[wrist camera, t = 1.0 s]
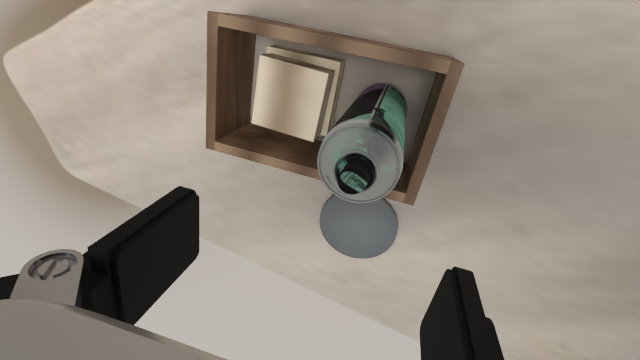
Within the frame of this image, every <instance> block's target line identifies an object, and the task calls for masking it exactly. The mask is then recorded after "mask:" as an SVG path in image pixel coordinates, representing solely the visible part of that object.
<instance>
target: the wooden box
mask: <svg viewBox="0 0 640 360" xmlns="http://www.w3.org/2000/svg"><path fill="white" fill-rule="evenodd" d="M256 34H259V35H264V36H268V37H273V38H278V39H283V40H287V41H292V42H297V43H301V44H306V45H311V46H316V47H320V48H325V49H330V50H334V51H339V52H344V53H349V54H353V55H358V56H363V57H368V58H372V59H377V60H382V61H386V62H391V63H396V64H401V65H405V66H410V67H415V68H420V69H424V70H429V71H434V72H437V73H436V76H435V79H434V82H433V85H432V88H431V91H430V94H429V98H428V101H427V104H426V107H425V110H424V113H423V116H422V119H421V122H420V125H419V128H418V131H417V134H416V137H415V140H414V143H413V146H412V149H411V152H410V156H409V159H408V162H407V163H403V169H402V172H401V176H400V178H399V180H398V182H397V184H396V185H395V187H394V188H393V189H392V190H391V192H390V193H389V194H387V195H386V196H384V198H388V199H391V200H395V201H399V202H402V203H406V204H409V205H414V202H415V199H416V196H417V194H418V191H419V188H420V185H421V183H422V180H423V177H424V174H425V172H426V169H427V166H428V163H429V160H430V158H431V155H432V152H433V149H434V147H435V144H436V141H437V138H438V136H439V133H440V130H441V127H442V125H443V122H444V119H445V116H446V113H447V111H448V108H449V105H450V102H451V100H452V97H453V94H454V91H455V89H456V86H457V83H458V80H459V77H460V75H461V72H462V69H463V66H464V63H462V62H460V61H459V60H457V59H455V58H453V57H450V56H445V55H440V54H435V53H430V52H425V51H420V50H415V49H410V48H405V47H401V46H396V45H391V44H386V43H381V42H376V41H371V40H366V39H361V38H356V37H351V36H346V35H341V34H336V33H332V32H327V31H322V30H317V29H312V28H307V27H302V26H297V25H292V24H287V23H282V22H277V21H272V20H268V19H263V18H258V17H253V16H247V15H238V14H229V13H220V12H212V11H208V18H207V106H206V148H208V149H211V150H215V151H219V152H222V153H226V154H229V155H233V156H237V157H240V158H244V159H247V160H251V161H255V162H258V163H262V164H265V165H269V166H273V167H276V168H280V169H283V170H287V171H291V172H294V173H298V174H301V175H305V176H309V177H312V178H316V179H319V180H322V179H321V177H320V175H319V171H318V167H317V158H318V152H319V150H320V146H321V144H322V141H318V140H315V141H314V142H311V141H308V140H305V139H301V138H298V137H295V136H292V135H288V134H285V133H282V132H278V131H275V130H272V129H269V128H265V127H262V126H259V125H256V124H252V123H249V119H250V105H251V92H252V79H253V65H254V52H255V39H256Z"/></svg>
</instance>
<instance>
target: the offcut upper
mask: <svg viewBox="0 0 640 360" xmlns="http://www.w3.org/2000/svg"><path fill="white" fill-rule="evenodd" d="M334 74H335V70H332V69H328V68H325V67H321V66H317V65H314V64H310V63H307V62H303V61H299V60H296V59H292V58H288V57H285V56H281V55H277V54H274V53H269V54H262V55H260V58H259V66H258V74H257V83H256V91H255V99H254V107H253V115H252V124H256V125H259V126H262V127H265V128H269V129H272V130H275V131H278V132H282V133H285V134H288V135H292V136H295V137H298V138H301V139H305V140H308V141H311V142H314V141H315V140H316V139H317V137H318V136H319V135H320V134H321V130H322V125H323V121H324V117H325V112H326V108H327V104H328V100H329V95H330V91H331V87H332V82H333V78H334Z"/></svg>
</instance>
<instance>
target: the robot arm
mask: <svg viewBox="0 0 640 360" xmlns="http://www.w3.org/2000/svg"><path fill="white" fill-rule="evenodd" d="M198 253H199V196H198V195H196V192H195V191H194V190H192V189H188V188H185V187H181V186H179V187H177V188H175V189H174V190H172V191H171V192H169V193H168V194H166V195H165V196H163V197H162V198H160V199H159V200H157V201H156V202H155V203H153V204H152V205H150V206H149V207H147V208H146V209H144V210H143V211H141V212H140V213H138V214H137V215H135V216H134V217H132V218H131V219H129V220H128V221H126V222H125V223H124V224H122V225H120V226H119V227H117V228H116V229H115V230H113V231H111V232H110V233H108V234H107V235H105V236H104V237H102V238H101V239H99V240H98V241H97V242H95V243H94V244H92V245H91V246H89V247H88V251H87V252H86V253H84V254H83V255H82V254H81V253H80V252H77V251H75V250H69V249H61V250H54V251H49V252H46V253H43V254H40V255H38V256H36V257H35V258H33V259H31V260H30V261H29V262H27V263H26V264H25V265H24V267H23V268H22V270H21V272H20V274H16V275H11V276H6V277H1V278H0V360H227V359H224V358H221V357H218V356H216V355H213V354H210V353H208V352H205V351H202V350H200V349H197V348H194V347H191V346H189V345H186V344H183V343H180V342H177V341H175V340H172V339H169V338H167V337H164V336H161V335H158V334H156V333H153V332H150V331H147V330H144V329H142V328H139V327H136V326H134V324H135V323H136V322H137V321H138V320H139V319H140V318H141V317H142V316H143V315H144V314H145V312H146V311H147V310H148V309H149V308H150V307H151V306H152V305H153V304H154V303H155V302H156V301H157V300H158V298H160V296H161V295H162V294H163V293H164V292H165V291H166V290H167V289H168V288H169V287H170V286H171V285H172V283H174V281H175V280H176V279H177V278H178V277H179V276H180V275H181V274H182V273H183V272H184V271H185V270H186V269H187V268H188V266H189V265H190V264H191V263H192V262H193V261H194V260H195V259H196V257H197V255H198ZM420 346H421V360H504V357H503V354H502V351H501V347H500V344H499V341H498V337H497V334H496V331H495V327H494V324H493V322H492V320H491V319H490V318H487V317H485V314H484V310H483V307H482V303H481V300H480V296H479V292H478V289H477V285H476V282H475V278H474V274H473V272H471V271H468V270H465V269H461V268H458V267H453V268H452V270H450V269H447V270H446V271H445V273H444V275H443V277H442V280H441V282H440V284H439V286H438V288H437V290H436V292H435V295H434V297H433V299H432V301H431V303H430V305H429V307H428V310H427V312H426V314H425V316H424V318H423V320H422V323H421V327H420Z"/></svg>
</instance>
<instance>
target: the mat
mask: <svg viewBox="0 0 640 360" xmlns="http://www.w3.org/2000/svg"><path fill="white" fill-rule="evenodd" d="M320 227H321V231H322V234H323V236H324V237H325V239H326V241H327V242H328V243H329V244H330V245H331V246H332V247H333V248H334V249H336V250H337V251H339V252H340V253H342V254H344V255H347V256H350V257H354V258H371V257H375V256H378V255H380V254H382V253H384V252H385V251H386V250H388V249H389V248H390V247H391V245H392V244H393V242H394V240H395V238H396V234H397V218H396V214H395V212H394V210H393V208H392V207H391V205H390V204H389V203H388V202H387V201H386V200H385V199H384V198H381V199H379V200H377V201H374V202H370V203H353V202H349V201H345V200H343V199H341V198H339V197H337V196H336V195H335V194H334V195H333V196H332V197H330V199H329V200H328V201H327V202H326V204H325V206H324V208H323V210H322V212H321V215H320Z"/></svg>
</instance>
